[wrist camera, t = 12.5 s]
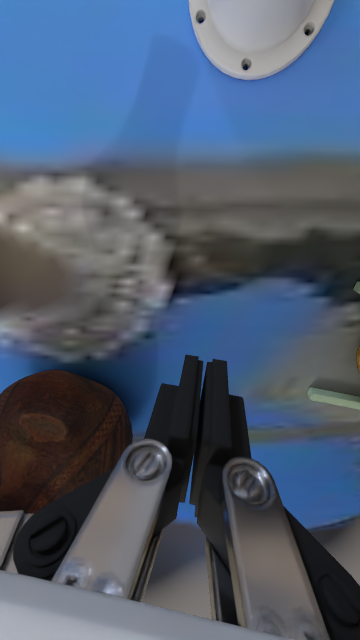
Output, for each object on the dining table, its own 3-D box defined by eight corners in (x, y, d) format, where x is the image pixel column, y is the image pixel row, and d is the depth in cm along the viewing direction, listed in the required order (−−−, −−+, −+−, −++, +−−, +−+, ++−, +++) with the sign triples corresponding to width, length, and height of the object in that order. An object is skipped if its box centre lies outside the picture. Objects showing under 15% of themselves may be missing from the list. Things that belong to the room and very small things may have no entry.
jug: (164, 436, 45) (85, 784, 18) (70, 459, 51) (-98, 745, 24) (102, 334, 38) (-180, 641, 11) (2, 374, 44) (-344, 637, 17)
